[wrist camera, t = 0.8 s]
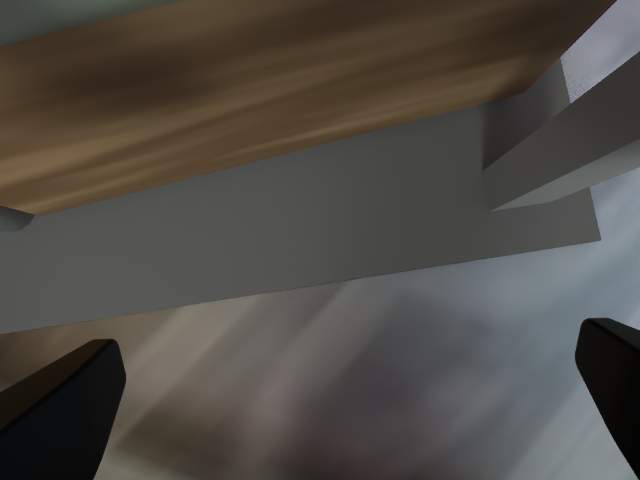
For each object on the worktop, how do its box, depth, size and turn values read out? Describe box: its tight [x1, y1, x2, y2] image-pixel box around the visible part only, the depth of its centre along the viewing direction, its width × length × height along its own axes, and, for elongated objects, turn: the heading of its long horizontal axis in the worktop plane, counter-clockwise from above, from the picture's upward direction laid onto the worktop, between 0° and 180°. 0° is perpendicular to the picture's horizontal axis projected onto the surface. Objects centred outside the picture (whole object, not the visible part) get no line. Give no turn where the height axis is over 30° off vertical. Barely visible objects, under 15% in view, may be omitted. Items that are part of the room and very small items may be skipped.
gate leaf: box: [0, 0, 617, 216], centre depth 15 cm, size 3×24×14 cm, turn 104°
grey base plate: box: [0, 52, 640, 334], centre depth 16 cm, size 20×32×16 cm, turn 99°
